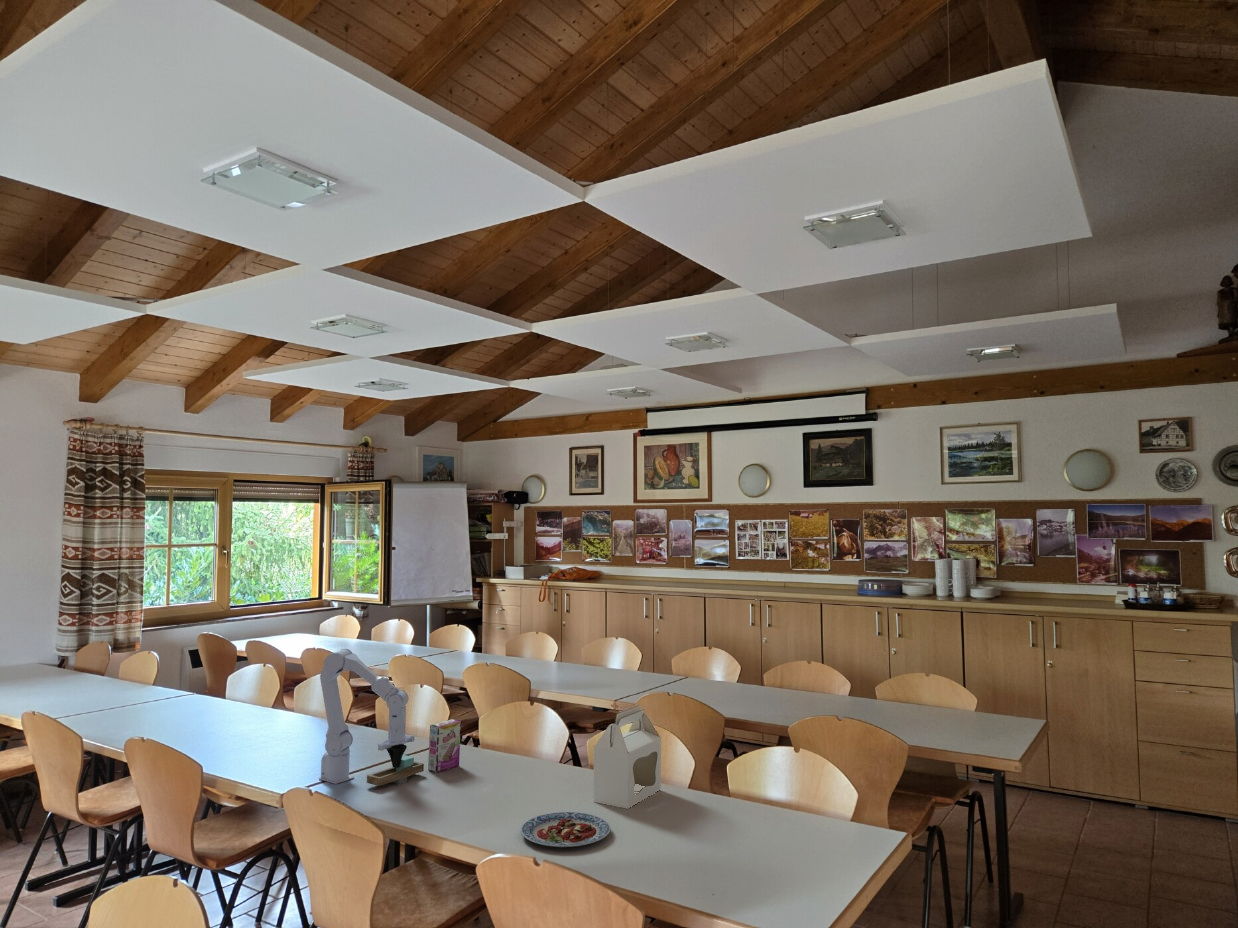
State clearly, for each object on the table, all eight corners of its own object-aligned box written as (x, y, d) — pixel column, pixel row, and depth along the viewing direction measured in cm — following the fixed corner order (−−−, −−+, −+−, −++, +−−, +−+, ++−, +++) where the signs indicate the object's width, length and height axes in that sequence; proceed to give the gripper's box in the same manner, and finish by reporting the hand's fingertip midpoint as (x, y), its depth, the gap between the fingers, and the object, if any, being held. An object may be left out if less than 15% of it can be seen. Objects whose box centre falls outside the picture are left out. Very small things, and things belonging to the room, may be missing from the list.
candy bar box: (437, 773, 287) (438, 726, 288) (427, 770, 290) (428, 724, 291) (460, 765, 296) (461, 720, 297) (451, 763, 299) (452, 718, 300)
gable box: (627, 810, 252) (628, 718, 254) (592, 802, 259) (593, 713, 261) (661, 790, 271) (661, 705, 273) (627, 783, 278) (628, 700, 280)
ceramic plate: (563, 812, 250) (564, 802, 250) (628, 833, 233) (628, 823, 233) (501, 837, 230) (501, 826, 230) (567, 861, 213) (567, 850, 214)
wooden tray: (365, 787, 271) (366, 774, 272) (410, 772, 288) (411, 760, 288) (379, 790, 268) (380, 778, 268) (424, 775, 284) (424, 763, 285)
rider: (393, 771, 280) (393, 757, 281) (403, 768, 284) (403, 754, 284) (403, 773, 278) (404, 760, 278) (413, 770, 281) (413, 757, 282)
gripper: (388, 733, 271) (387, 774, 270) (420, 724, 283) (419, 763, 282) (374, 729, 275) (373, 770, 274) (406, 721, 287) (405, 760, 286)
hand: (395, 766), depth 278 cm, fingers closed
